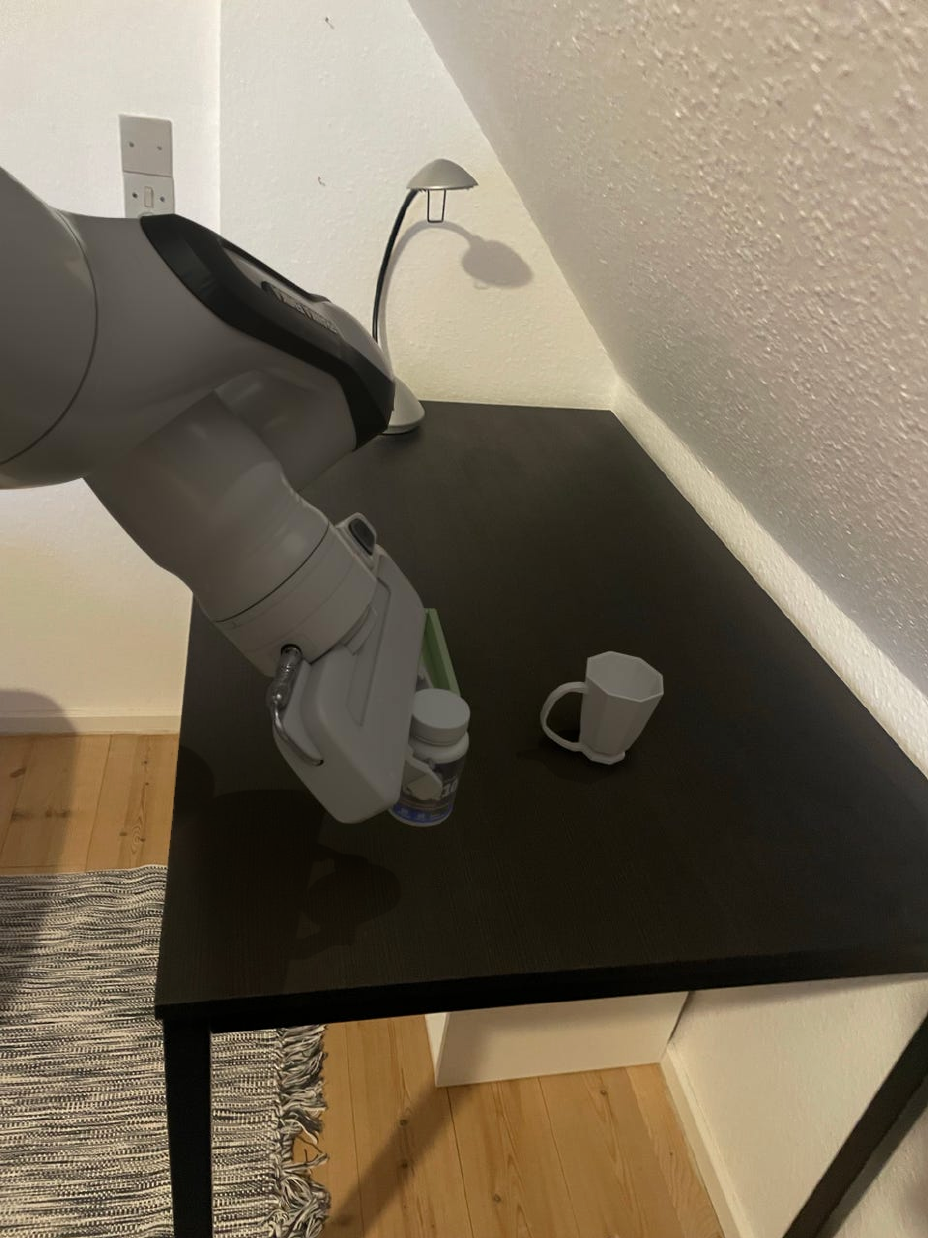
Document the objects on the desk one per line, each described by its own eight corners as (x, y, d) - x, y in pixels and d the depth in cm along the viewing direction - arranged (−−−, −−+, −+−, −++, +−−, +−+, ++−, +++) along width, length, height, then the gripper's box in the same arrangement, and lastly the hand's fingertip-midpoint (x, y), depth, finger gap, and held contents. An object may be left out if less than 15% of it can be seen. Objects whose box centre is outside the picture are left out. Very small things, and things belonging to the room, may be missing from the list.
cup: (652, 773, 82) (680, 700, 77) (544, 778, 79) (567, 702, 74) (622, 720, 87) (646, 650, 83) (520, 723, 84) (540, 650, 80)
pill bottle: (391, 832, 61) (411, 734, 56) (376, 780, 64) (393, 684, 60) (461, 826, 62) (485, 730, 58) (442, 776, 66) (464, 682, 61)
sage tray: (298, 720, 79) (301, 692, 78) (292, 628, 90) (294, 601, 89) (455, 722, 83) (461, 696, 81) (431, 633, 94) (435, 608, 92)
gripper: (309, 688, 45) (471, 859, 51) (366, 501, 63) (482, 645, 68) (213, 742, 48) (379, 900, 53) (293, 547, 65) (412, 683, 71)
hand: (437, 756), depth 61 cm, fingers closed on pill bottle, 5 cm apart
